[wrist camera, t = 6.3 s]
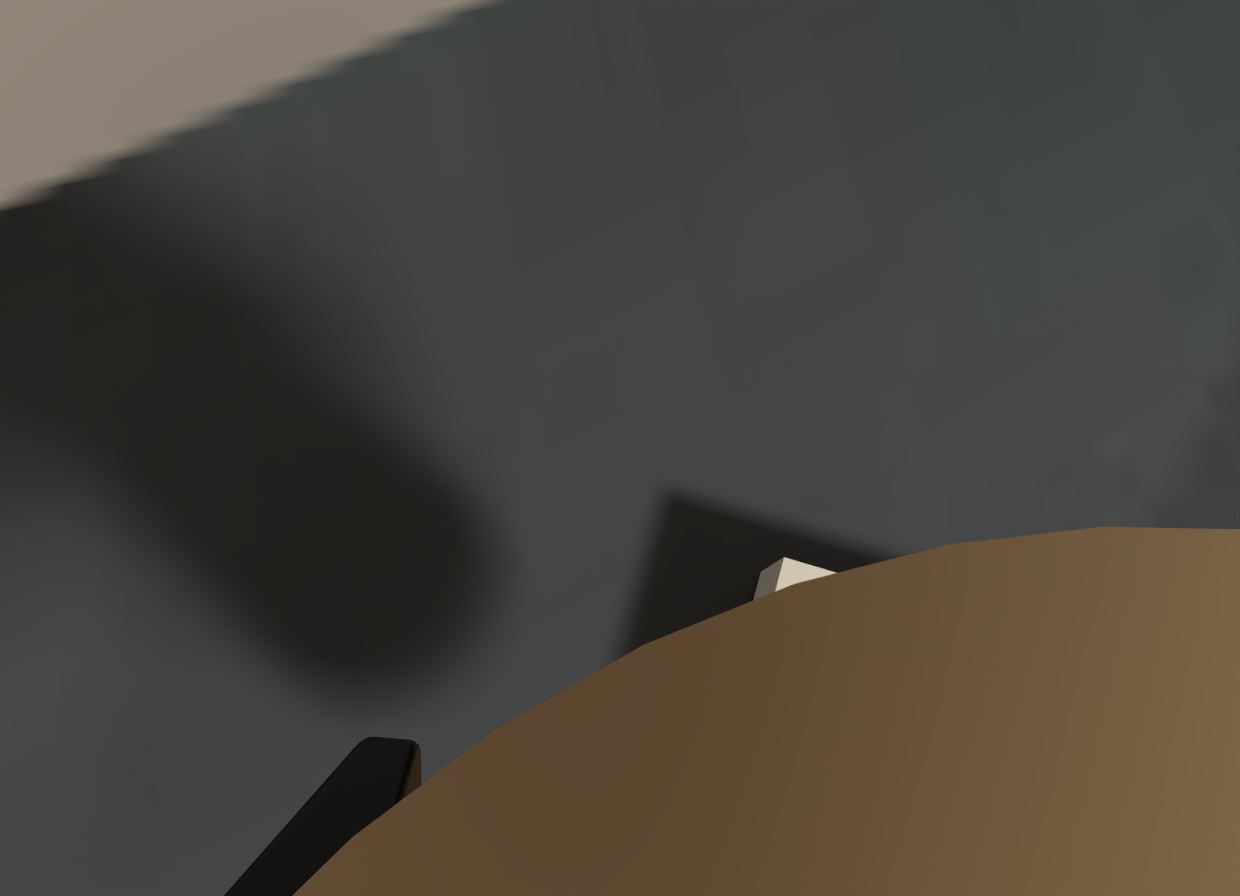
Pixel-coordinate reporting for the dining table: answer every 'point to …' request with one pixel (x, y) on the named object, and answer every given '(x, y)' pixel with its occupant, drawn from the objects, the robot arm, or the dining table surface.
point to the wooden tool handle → (872, 742)
